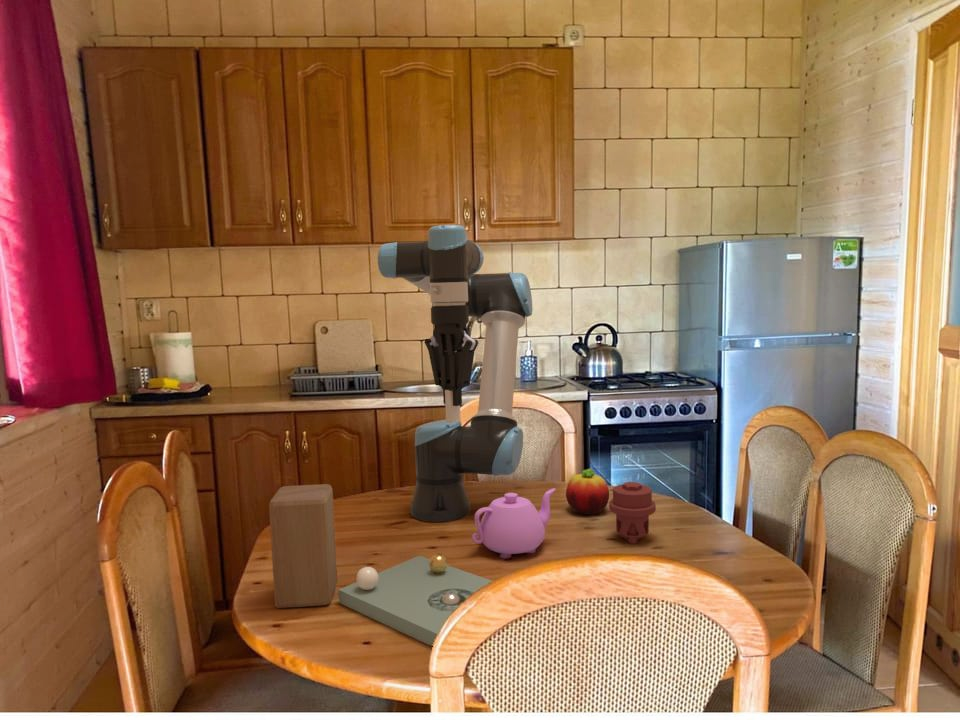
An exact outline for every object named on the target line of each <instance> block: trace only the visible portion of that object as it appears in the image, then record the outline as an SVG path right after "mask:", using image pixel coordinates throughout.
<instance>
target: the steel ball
mask: <svg viewBox="0 0 960 720" xmlns="http://www.w3.org/2000/svg"><path fill="white" fill-rule="evenodd" d="M460 603H461V600H460V597H459V596H458V595H457V594H455V593H453V592H450V593H446V594H445V595H444V596H443V597H442V599H441V604H444V605H449V606H455V605H459V604H460Z"/></svg>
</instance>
